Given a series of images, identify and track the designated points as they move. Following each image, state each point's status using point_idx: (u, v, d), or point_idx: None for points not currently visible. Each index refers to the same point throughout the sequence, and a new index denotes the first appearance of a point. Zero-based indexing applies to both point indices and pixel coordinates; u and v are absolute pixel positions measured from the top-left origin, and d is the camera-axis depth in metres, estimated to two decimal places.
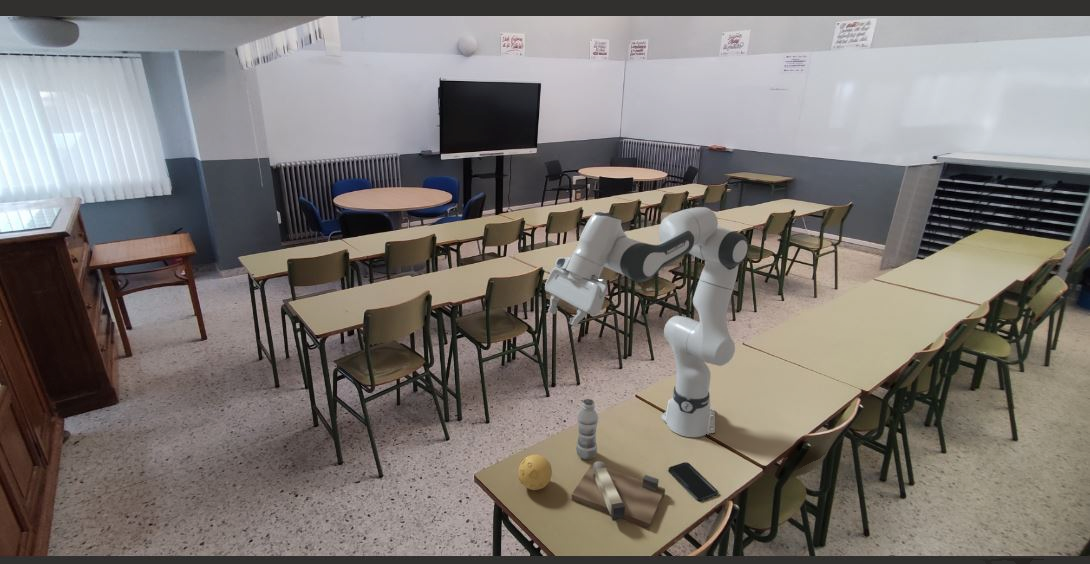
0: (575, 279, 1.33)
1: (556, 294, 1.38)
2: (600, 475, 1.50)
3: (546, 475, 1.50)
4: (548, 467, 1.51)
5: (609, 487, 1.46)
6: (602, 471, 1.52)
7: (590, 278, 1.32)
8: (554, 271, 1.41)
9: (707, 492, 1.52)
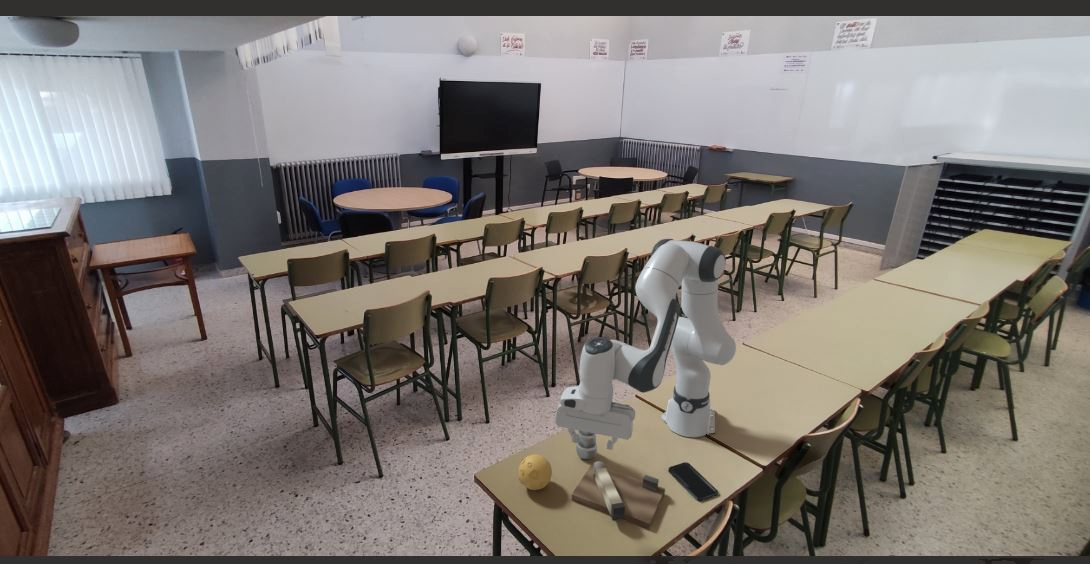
0: (598, 415, 1.32)
1: (577, 429, 1.36)
2: (600, 475, 1.50)
3: (546, 475, 1.50)
4: (548, 467, 1.51)
5: (609, 487, 1.46)
6: (602, 471, 1.52)
7: (611, 407, 1.33)
8: (562, 410, 1.35)
9: (707, 492, 1.52)
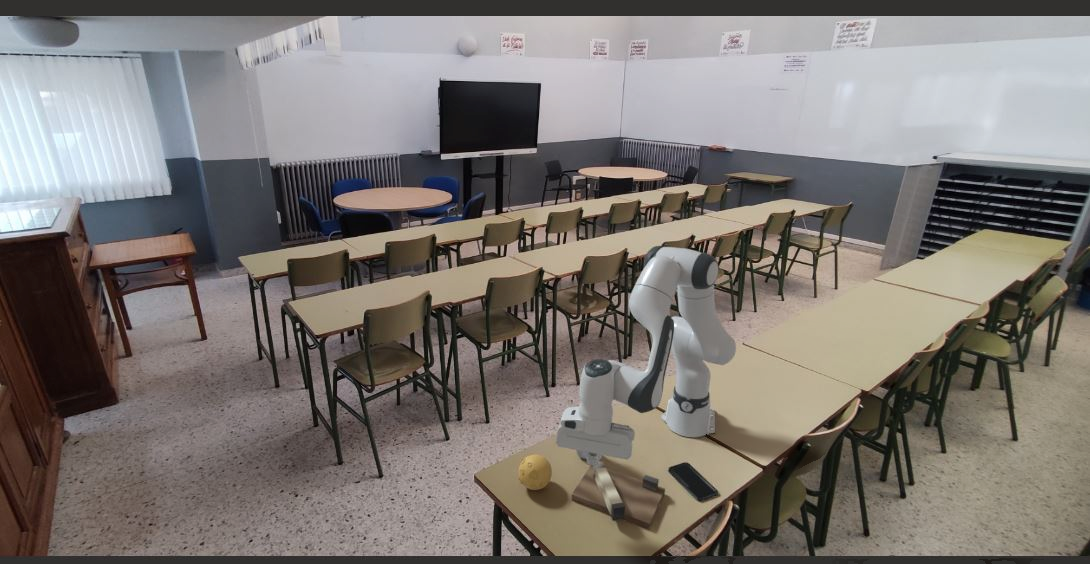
0: (598, 436, 1.34)
1: (577, 449, 1.38)
2: (600, 475, 1.50)
3: (546, 475, 1.50)
4: (548, 467, 1.51)
5: (609, 487, 1.46)
6: (602, 471, 1.52)
7: (611, 428, 1.34)
8: (563, 430, 1.37)
9: (707, 492, 1.52)
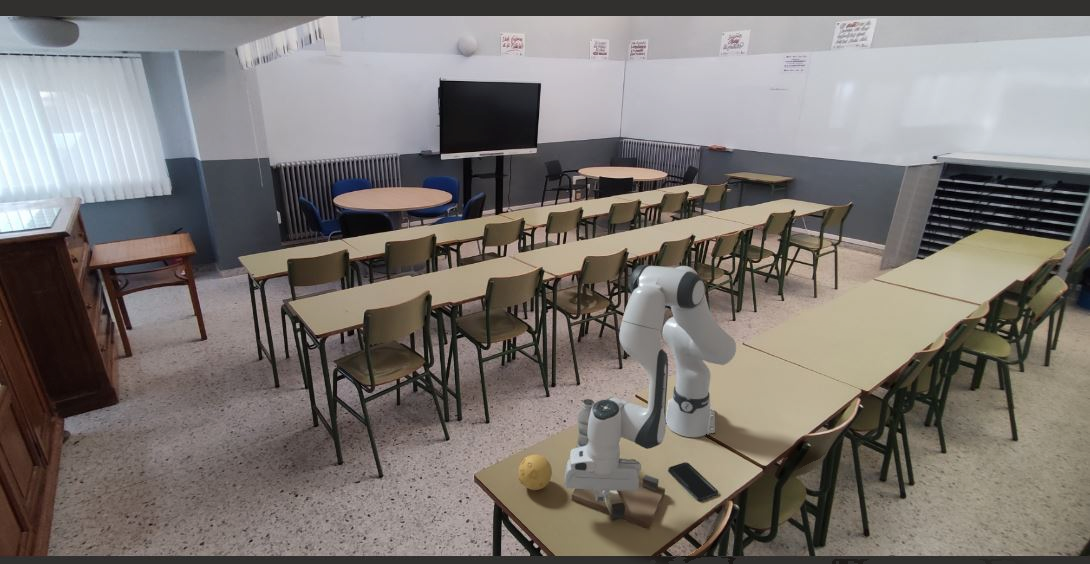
0: (608, 474, 1.38)
1: (587, 488, 1.41)
2: None
3: (546, 475, 1.50)
4: (548, 467, 1.51)
5: None
6: None
7: (619, 464, 1.39)
8: (572, 473, 1.39)
9: (707, 492, 1.52)
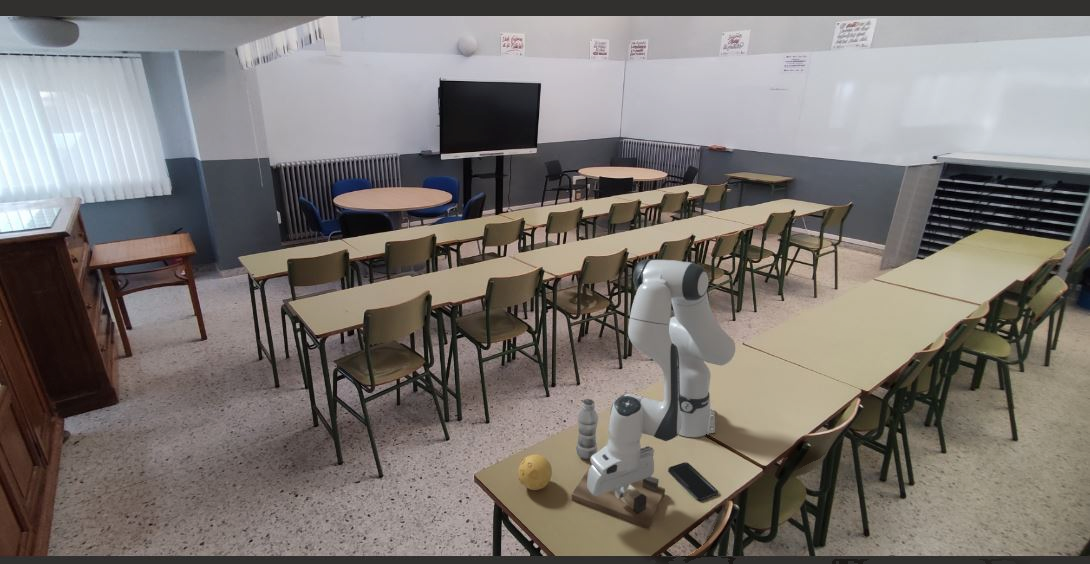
0: None
1: (612, 489, 1.40)
2: None
3: (546, 475, 1.50)
4: (548, 467, 1.51)
5: None
6: None
7: None
8: (602, 479, 1.36)
9: (707, 492, 1.52)
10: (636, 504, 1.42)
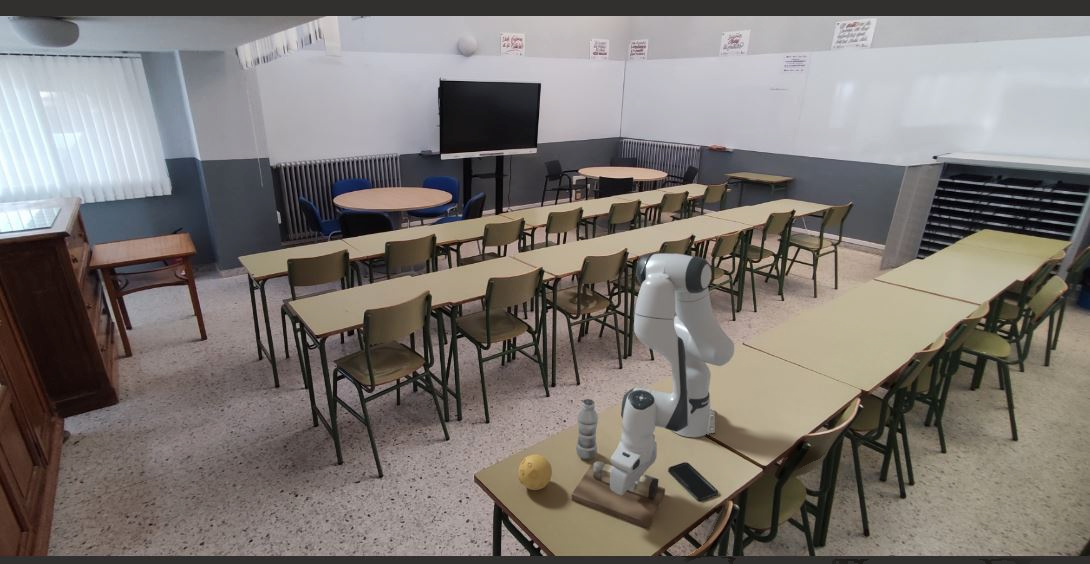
0: None
1: (632, 484, 1.42)
2: None
3: (546, 475, 1.50)
4: (548, 467, 1.51)
5: None
6: (608, 467, 1.53)
7: None
8: None
9: (707, 492, 1.52)
10: (652, 491, 1.46)
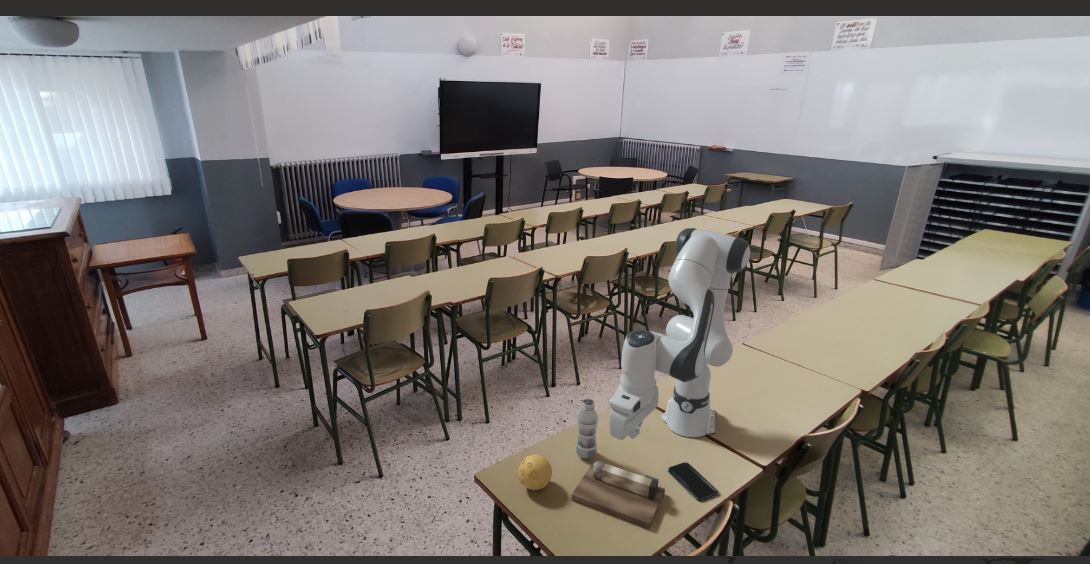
0: None
1: (633, 428, 1.35)
2: (611, 471, 1.52)
3: (546, 475, 1.50)
4: (548, 467, 1.51)
5: (629, 475, 1.50)
6: (608, 467, 1.53)
7: None
8: None
9: (707, 492, 1.52)
10: (652, 491, 1.46)
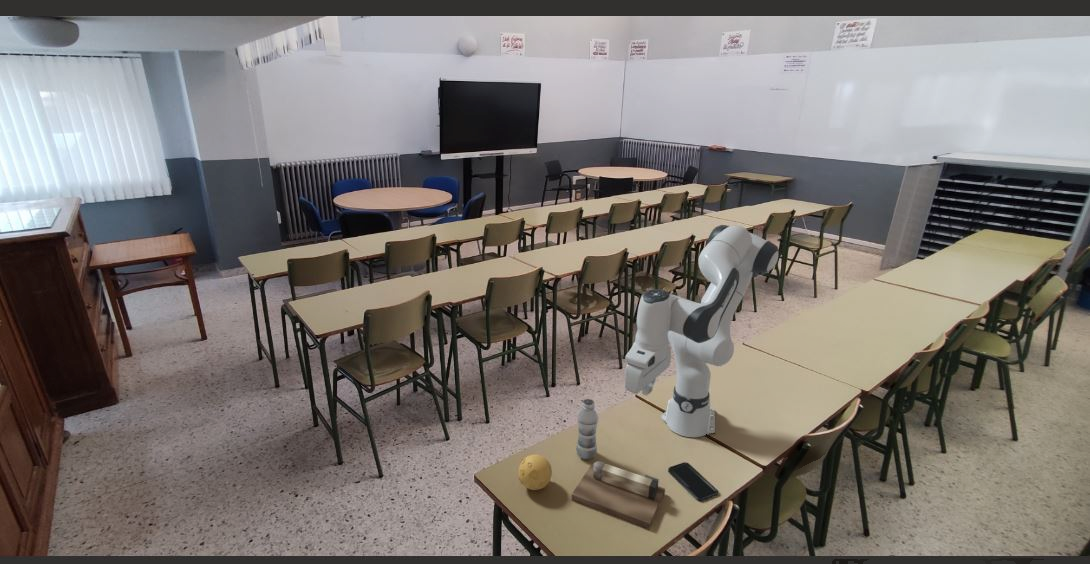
0: None
1: (647, 384, 1.40)
2: (611, 471, 1.52)
3: (546, 475, 1.50)
4: (548, 467, 1.51)
5: (629, 475, 1.50)
6: (608, 467, 1.53)
7: None
8: None
9: (707, 492, 1.52)
10: (652, 491, 1.46)
